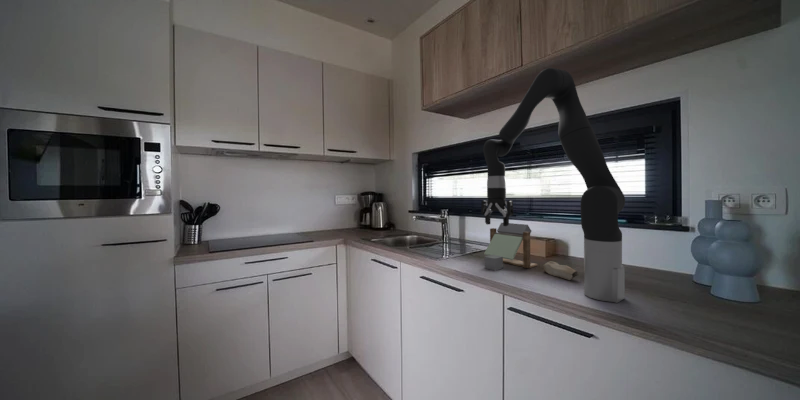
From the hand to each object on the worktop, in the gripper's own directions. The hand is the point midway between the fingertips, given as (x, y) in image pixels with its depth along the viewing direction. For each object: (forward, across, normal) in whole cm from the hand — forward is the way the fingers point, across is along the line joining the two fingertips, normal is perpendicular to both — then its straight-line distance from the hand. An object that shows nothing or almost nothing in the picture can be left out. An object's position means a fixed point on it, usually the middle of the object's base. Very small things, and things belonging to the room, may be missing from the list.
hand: (496, 225), depth 119 cm
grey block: (+15, 0, 0) cm, 16 cm away
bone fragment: (+18, +22, +8) cm, 30 cm away
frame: (+18, 0, +11) cm, 21 cm away
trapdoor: (+10, 0, +10) cm, 14 cm away
